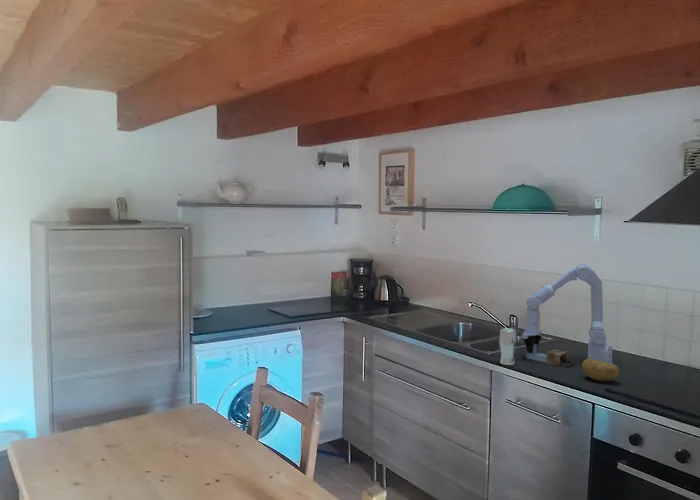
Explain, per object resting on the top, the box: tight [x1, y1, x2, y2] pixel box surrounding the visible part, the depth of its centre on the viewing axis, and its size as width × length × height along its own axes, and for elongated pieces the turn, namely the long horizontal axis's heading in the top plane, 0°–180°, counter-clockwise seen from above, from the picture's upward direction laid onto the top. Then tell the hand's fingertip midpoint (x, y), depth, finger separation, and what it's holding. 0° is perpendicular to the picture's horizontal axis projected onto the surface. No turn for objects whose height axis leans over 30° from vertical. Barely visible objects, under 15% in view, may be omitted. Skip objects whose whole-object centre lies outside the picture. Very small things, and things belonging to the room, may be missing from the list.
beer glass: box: [499, 327, 517, 366], centre depth 254 cm, size 7×7×15 cm
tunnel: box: [545, 349, 569, 367], centre depth 254 cm, size 6×8×5 cm
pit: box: [559, 359, 576, 368], centre depth 251 cm, size 3×7×1 cm, turn 134°
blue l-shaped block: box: [526, 344, 546, 363], centre depth 260 cm, size 12×4×6 cm, turn 44°
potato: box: [581, 358, 620, 382], centre depth 229 cm, size 10×14×8 cm
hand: (531, 351), depth 263 cm, fingers closed on blue l-shaped block, 3 cm apart
